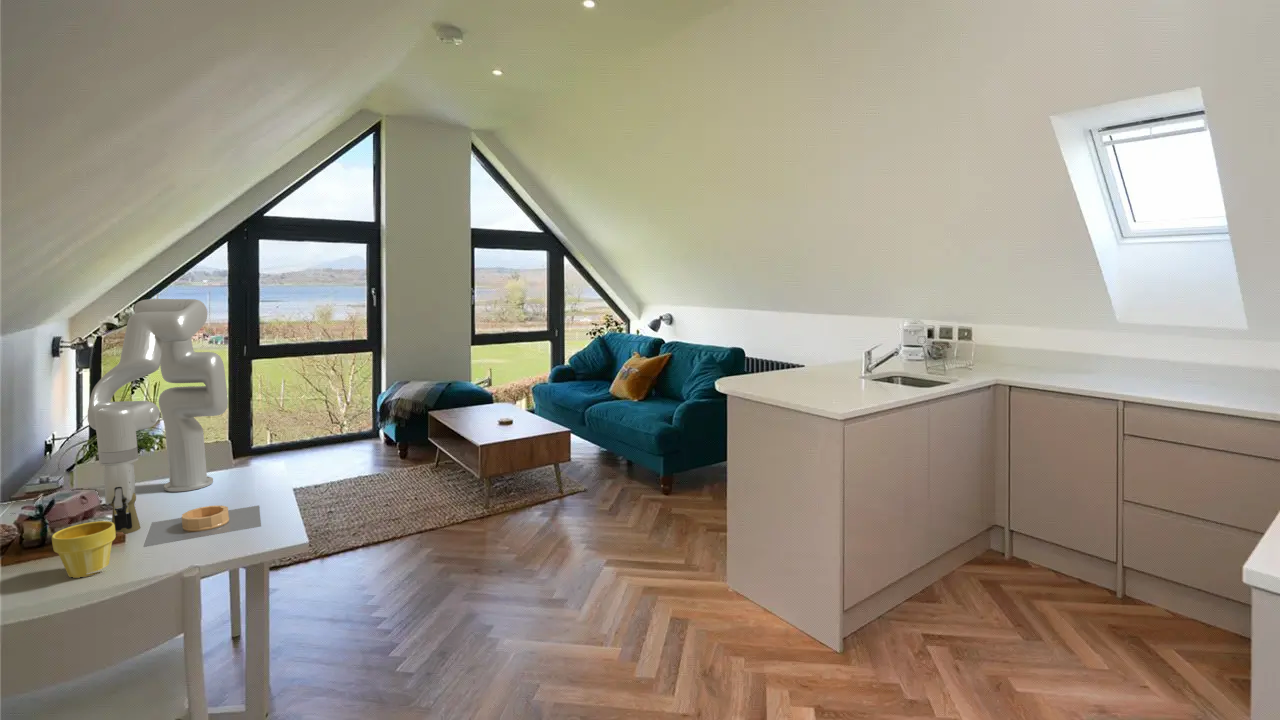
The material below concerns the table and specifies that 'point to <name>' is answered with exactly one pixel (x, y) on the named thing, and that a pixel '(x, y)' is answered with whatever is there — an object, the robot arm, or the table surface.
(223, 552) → the table surface
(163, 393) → the robot arm
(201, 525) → the tan shallow bowl
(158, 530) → the slate board
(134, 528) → the cork
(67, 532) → the plant pot
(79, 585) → the table surface
